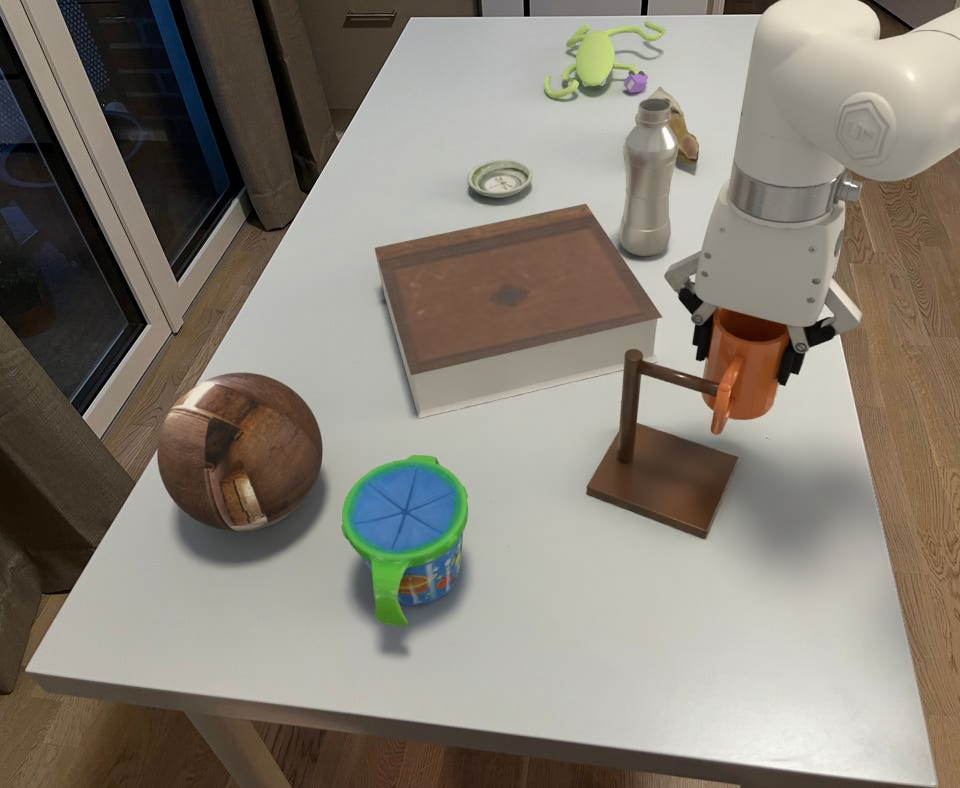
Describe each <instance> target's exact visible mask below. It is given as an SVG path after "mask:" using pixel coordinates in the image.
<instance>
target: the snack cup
mask: <svg viewBox="0 0 960 788" xmlns="http://www.w3.org/2000/svg"><path fill="white" fill-rule="evenodd" d="M468 497H469V495H468V491H467V489H466V487H465V486H464V485H463V484H462V483H461V481H460V480H459V478H458V477H457V476H456V475H455V474H454V473H453V472H452V471H450V470H449V469H448V468H446V467H444V466H443V465H441V464H440V463H439V460H438V458H437V457H436V456H431V455H422V454H412V455H411V456H409V457H407V458H406V459H400V460H399V459H398V460H394V461H391V462H387V463H383V464H382V465H379V466H377V467H375V468H373V469H372V470H369V472H367V473H365V474H364V475H363V476H361V478H360V479H358V480H357V482H356V483H355V484H354V485H353V486H352V487H351V489H350V490H349V492H348V493H347V495H346V497H345V500H344V503H343V506H342V514H341V516H342V524H341V530H342V534H343V537H344V538H345V539H346V540H347V541H348V543H349V544H350V546H351V547H352V549H353V550H354V551H355V552H357V554H358V555H359V556H361V558H362V559H363V562H365V564H366V566H367V567H368V569H369V571H370V572H371V576H372V589H373V598H374V605H375V609H374V610H375V611H374V612H375V614H374V617H375V619H376V620H377V622H380V623H382V624H386V625H389V626H396V627H397V626H398V627H406V626H407V625H408V624H409V620H408V619H407V617H406V616H405V615H404V612H403V610H402V607H401V604H403V605H405V606H406V607H417V606H420V605H421V606H422V605H425V604H430V603H433V602H435V601H437V600H439V599H441V598H442V597H444V596H445V595H448V594H449V593H450V591H452V589H453V587H454V584H455V583H456V581H457V580H458V577H459V573H460V570H461V563H462V551H463V539H464V531H465V529H466V526H467V523H468V517H469V504H468V499H469V498H468Z"/></svg>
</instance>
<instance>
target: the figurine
mask: <svg viewBox="0 0 960 788" xmlns="http://www.w3.org/2000/svg"><path fill="white" fill-rule="evenodd" d="M644 26H645V28H647V29H649V30H651V31H655V32H657V33H656V34H650V33H648V32H646V31H645V30H644V29H643V28H641V27H640V26H637V25H622V26H617V27H614V28H610V29H607V30H604V31H603V30H600V29H599V30H598V29H595V30H592V31H590V30H591V25H590V24H584V25H582V26H581V27H579V28H578V29H577V30H576V31H575V32H574V34H573V35H572V36H571V37H570V38H569V39H568V40H567V41H566V43H565V46H566V47H567V48H574V47H575V46H576V45H577V44H578V43H579V45H578V47H577V52H576V54H575V63H573V64H571V65H569V66H568V67H566V68H565V70H564V71H563V73H562V74H561V79H562V80H563V81H565V82H572V83H571V84H570V85H569V86H567V87H565V88H563V89H561V90H553V89H552V88H551V85H550V84H551V80H552V77H551V75H546V76H545V78H544V81H543V89H544V92H545V94H546V95H547V96H549V98H552V99H560V98H564V97H566V96H568V95H570V94H572V93H574V92H575V91H576V90H577V89H578V88H579V85H580V83H579V81H578V80H576V79H574V78H569V77H570V76H571V74H573V72H575V71H576V73H577V75H578V77H579V79H580V81H581V83H582V86H584V88H587V87H595V86H601V87H605V86H606V83H607V78H608V76H609V75H610V73H611V71H612V70H625V71H628V73H627V74H628V76H627V77H626V79H625V80H624V82H622V85H623V86H624V87H625V89H626V90H627V91H628V92H629V93H630V94H632V93H633V94H634V93H641V92H642V91H643V90H644V89H645V87H646V86H647V84H648V78H649V76H648V74H647V73H645V72H644V71H643V70H639V69H638V68H637V67H636V66H635V65H633V64H629V63H628V64H627V63H622V62H616V61H615V56H616V55H615V53H616V51H615V46H614V43H613V40H612V39H611V38H610V37H613V36H616V35H620V34H637V35H638V36H639V37H641V38H642V39H643V40H645V42H650V43H651V42H656V41H657V40H660V39H661V38H662V37H663V36H664V35H665V34H666V32H667V29H666V27H665V26H662V25H658V24H655V23H653V22H650V21H649V20H646V21H644ZM587 33H588V34H587Z"/></svg>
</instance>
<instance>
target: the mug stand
mask: <svg viewBox="0 0 960 788" xmlns="http://www.w3.org/2000/svg"><path fill="white" fill-rule="evenodd" d="M622 371H623V373H622V386H621V402H620V412H619V413H620V415H619V425H618V427H619V429H618V431H617V433H616V434H615V437H614V439H613V440H612V442H611V444H610V445H609V446H608V449H607V451H606V453H605V454H604V456H603V457H602V459H601V460H600V463H598V464H599V465H598V466H597V468H596V470H595V471H594V473H593V475H592V477H591V478H590V480H589V482H588V484H587V485H586V494H587V495H589V496H591V497H594V498H596V499H599V500H602V501H605V502H608V503H610V504H613V505H616V506H618V507H620V508H623V509H626V510H629V511H631V512H633V513H636V514H639V515H641V516H644V517H647V518H649V519H651V520H655V521H658V522H661V523H662V524H666V525H668V526H671V527H673V528H676V529H678V530H681V531H683V532H686V533H689V534H692V535H694V536H697V537H699V538H702V539H707V537H708V535H709V532H710V530H711V527H712V525H713V523H714V520H715V518H716V516H717V513H718V511H719V509H720V507H721V505H722V501H723V500H724V497H725V495H726V493H727V490H728V489H729V486H730V484H731V481H732V479H733V476H734V474H735V472H736V470H737V467H738V464H739V461H740V456H738V455H735V454H732V453H729V452H726V451H723V450H720V449H717V448H714V447H711V446H709V445H704V444H702V443H700V442H696V441H692V440H690V439H687V438H683V437H681V436H678V435H675V434H672V433H669V432H666V431H663V430H660V429H657V428H653V427H651V426H647V425H645V424H642V423H639V422H638V415H639V414H638V413H639V402H640V395H641V394H640V393H641V382H642V375H643V376H646V377H650V378H652V379H656V380H659V381H663V382H666V383H669V384H672V385H674V386H678V387H682V388H685V389H688V390H691V391H695V392H698V393H705V394H708V395H711V396H714V397H717V391H718V386H719V384H720V383H717V382H714V381H710V380H707V379H704V378H703V377H701V376H696V375H693V374H690V373H686V372H683V371H680V370H677V369H673V368H670V367H667V366H663V365H660V364H657V363H650V362H647V361H643V353H642V352H641V351H640V350H637V349H630V350H627V351H626V352H625V357H624V370H622Z"/></svg>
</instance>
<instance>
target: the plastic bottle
mask: <svg viewBox="0 0 960 788" xmlns="http://www.w3.org/2000/svg"><path fill="white" fill-rule="evenodd" d="M670 111H671V104H670V102H669V101H667V100H664V99H660V98H650V99H648V98H646V99H643V100H641V101H640V102H638V107H637V113H638V114H637V113H636V114H637V118H636V120H637V122H638V124H637V125H636V124H635V126H634V127H633V128H632V130H630V132H629V133H628V135H627V136H626V138H625V140H624V142H623V147H622V150H623V151H622V152H623V162H624V171H625V199H624V205H623V212H622V217H621V219H620V224H619V229H618V234H619V242H620V244H621V247H622V248H623V249H624V250H625V251H626V252H628V253H629V254H631V255H633V256H637V257H651V256H655V255H658V254H660V253H661V252H662V251H664V249H666V247H667V246H668V244H669V242H670V240H671V239H670V238H671V234H672V228H671V226H672V225H671V219H670V192H671V185H672V179H673V174H674V170H675V166H676V162H677V159H678V157H677V154H678V148H679V146H678V142H677V138H676V136H675V134H674V132H673V131H672V129H671V128H670V127H669V125H668V123H669V122H670V118H671V115H670Z"/></svg>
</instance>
